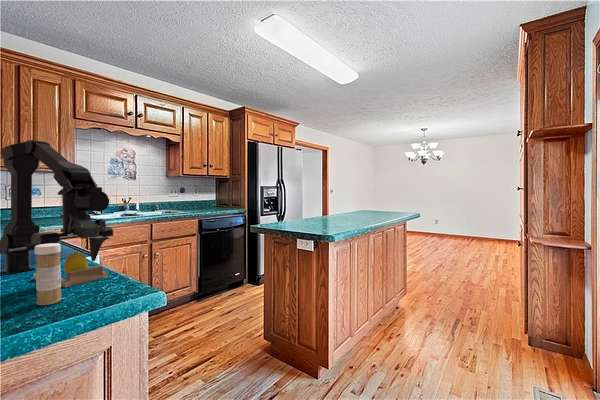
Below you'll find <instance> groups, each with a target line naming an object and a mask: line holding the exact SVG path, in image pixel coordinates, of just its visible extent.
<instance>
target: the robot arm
mask: <svg viewBox="0 0 600 400" xmlns="http://www.w3.org/2000/svg"><path fill="white" fill-rule="evenodd" d="M1 158H2V159H3V166H4V167H5V168H6V169H7V171H8V172H9V173H10V221H9V222H7V224H6V225H5V226H4V228H3V233H2V236H1V238H0V255H5V268H4V269H1V270H0V271H1V272H2V273H6V274H10V275H11V274H16V273H22V272H26V271H31V270H32V271H33V270H36V266H32V265H31V251H35V246H37V245H41V244H49V243H59V242H60V241H63V240H69V239H77V238H79V239H82V240H84V239H85V240H86V239H88V242H89V256H90V260H91V261H92V262H95V261H96V260H97V257H98V254H99V252H100V248H101V246H102V245H103V243H105V242H106V241H107V240H109V239H110V237H113V236H114V229H113V228H112V227H111V226H107V225H106V224H107V223H106V222H107V221H106V219H103V218H99V219H95V220H92V219H91V215H90V213H88V212H103V211H106V209H108V207H109V205H110V198H109V197H108V194H107V193H105V192H104V191H103V188H102V186H98V184H97V183H96V181H95V180H94V178H93V175H92V174H91V172H90V170H89V169H88V168H87V167H84V166H82V165H80V164H76V163H74V162H71V161H69V160H68V159H66V157H64V156H63V155H62V154H60V153H59V152H58V151H57V150H55V149H54V148H53V147H52V146H51V144H50V143H49V142H47V141H45V140H43V141H42V140H34V139H29V140H25V141H23V142H19V143H12V144H9V145H7V146H6V147H4V148H2V150H1ZM40 162H41V163H42V164H44V166H46V168H48V169H49V170H50V171H52V173H53V179H54V180H55V181H56V183H57V184H58V185H59V186H60V187H62V189H60V190H59V191H58V192H57V195H58V196H61V203H62V204H61V205H62V207H61V208H62V209H61V210H62V214H60V215H59V216H60V217H59V218H60V219H62V228H60V233H59V232H55V231H45V232H40V226H39V225H38V224H36V223H35V222H34V221H33V214H32V213H33V210H32V208H33V207H32V203H33V202H32V199H33V174H34V173H35V172H36V171H37V169H39V167H40ZM59 244H60V243H59ZM61 246H62V245H61V244H60V247H61Z"/></svg>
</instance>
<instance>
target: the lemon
mask: <svg viewBox="0 0 600 400" xmlns="http://www.w3.org/2000/svg"><path fill="white" fill-rule="evenodd" d="M84 268H89V262H88V259H87V257H86V256H85V254H83V253H80V252H78V251H75V252H72V254H70V255H68V256H67V257H66V259H65V261H64V266H63V270H64V273H65V275H67V273H66V272H70V271H75V270H80V269H84Z"/></svg>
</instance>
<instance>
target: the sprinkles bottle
mask: <svg viewBox="0 0 600 400" xmlns="http://www.w3.org/2000/svg"><path fill="white" fill-rule="evenodd" d="M60 254H61V246H60V243H59V242H57V243H49V244H41V245H37V246H35V250H34V255H35V271H36V272H35V274H36V280H35V283H36V285H35V288H36V305H38V306H47V305H48V306H49V305H53V304H57V303H59V302H61V301H62V289H61V288H62V286H61V278H62V270H61V268H62V267H61V256H60Z"/></svg>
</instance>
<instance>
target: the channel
mask: <svg viewBox="0 0 600 400" xmlns="http://www.w3.org/2000/svg"><path fill="white" fill-rule="evenodd" d="M103 267H104V266H103V265H94V266H90V267H89V266H88V268H84V269H80V270H75V271H70V272H66V273H67V274H66V273H65V274H66V279H65V278H62V277H61V288H62V287H63V288H68V287H69V288H70V287H72V286H77V285H81V284H85V283H88V282H89V283H90V282H93V281H96V280H101V279H104V278H108V271H104V269H103ZM33 280H35V281H36V273H33Z"/></svg>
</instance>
